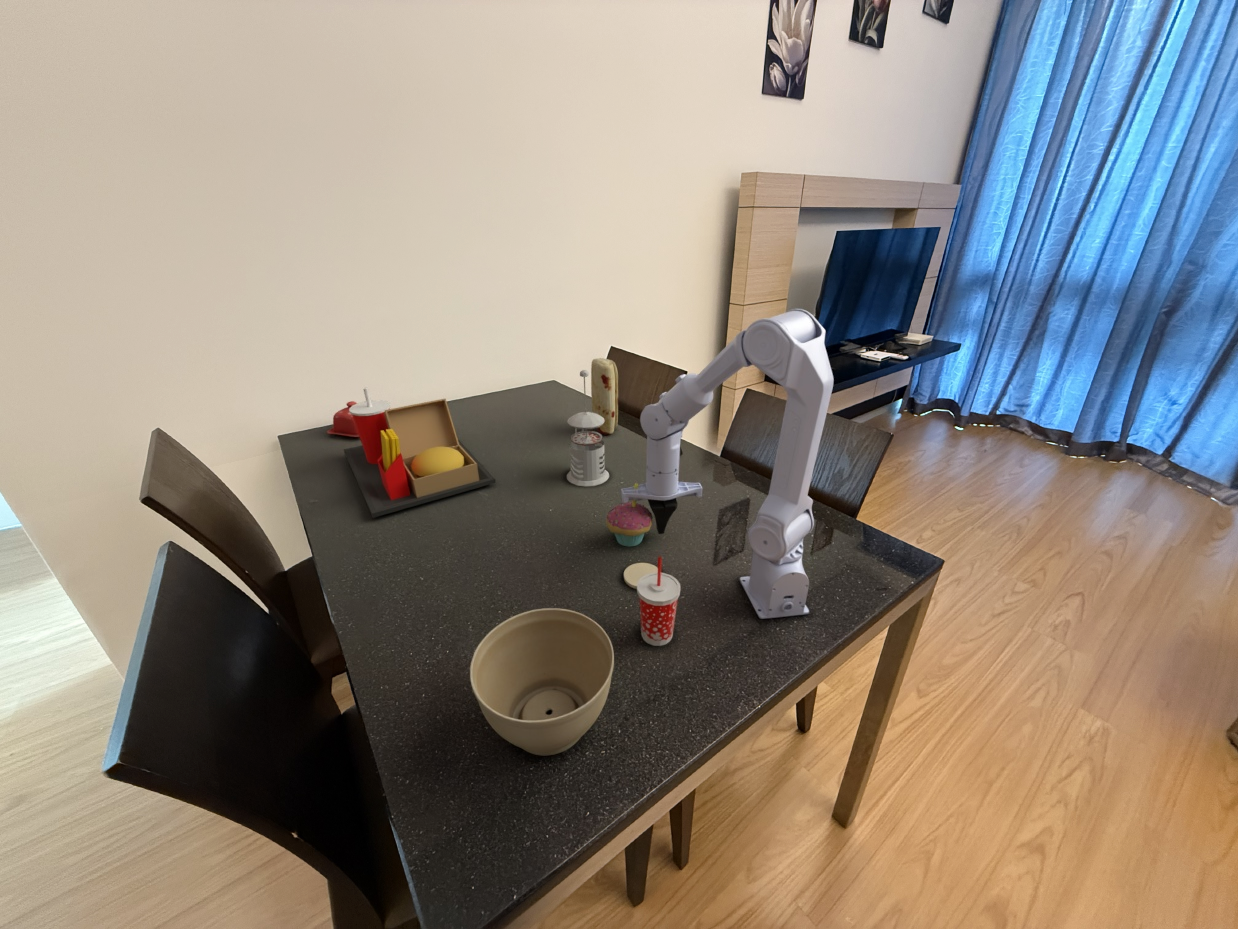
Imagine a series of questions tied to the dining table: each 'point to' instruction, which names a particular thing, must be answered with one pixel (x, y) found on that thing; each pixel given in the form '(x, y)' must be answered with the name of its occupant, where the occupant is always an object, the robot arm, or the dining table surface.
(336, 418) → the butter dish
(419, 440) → the fast food meal
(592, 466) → the french press
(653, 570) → the coaster
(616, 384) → the food model
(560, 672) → the planter bowl
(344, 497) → the dining table surface
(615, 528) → the cupcake
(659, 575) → the beverage cup
